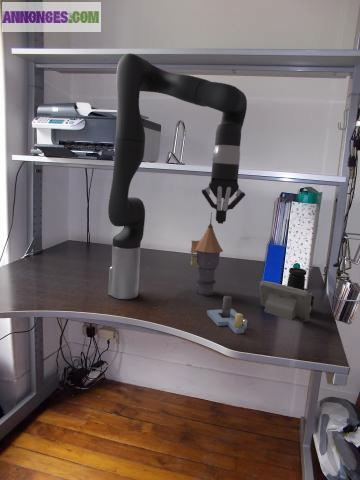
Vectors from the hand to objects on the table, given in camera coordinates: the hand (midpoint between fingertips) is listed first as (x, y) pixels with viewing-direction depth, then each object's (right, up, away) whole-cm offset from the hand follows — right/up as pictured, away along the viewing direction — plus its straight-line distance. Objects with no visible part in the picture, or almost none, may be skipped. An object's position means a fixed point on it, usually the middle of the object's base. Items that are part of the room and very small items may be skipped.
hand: (220, 223), depth 108 cm
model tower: (-4, -25, +22) cm, 34 cm away
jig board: (-1, -29, +1) cm, 29 cm away
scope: (+27, -29, +16) cm, 42 cm away
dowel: (+6, -30, -5) cm, 31 cm away
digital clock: (+21, -29, +10) cm, 37 cm away
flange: (+2, -29, -2) cm, 29 cm away
